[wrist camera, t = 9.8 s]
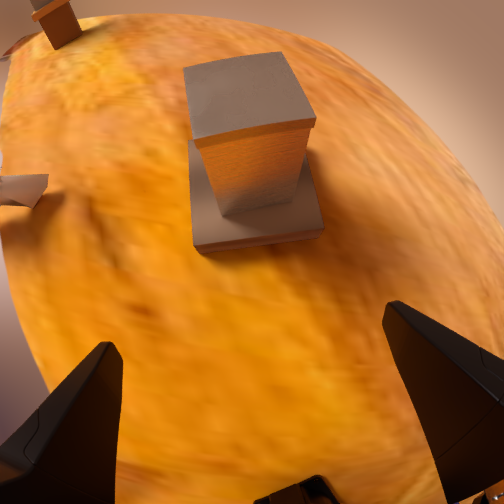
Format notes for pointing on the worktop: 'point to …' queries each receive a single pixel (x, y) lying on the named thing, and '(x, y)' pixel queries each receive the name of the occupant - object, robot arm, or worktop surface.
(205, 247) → the block
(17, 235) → the worktop surface
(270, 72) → the tin
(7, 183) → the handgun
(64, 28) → the knife
